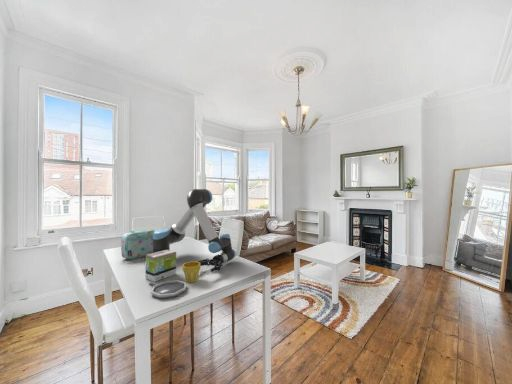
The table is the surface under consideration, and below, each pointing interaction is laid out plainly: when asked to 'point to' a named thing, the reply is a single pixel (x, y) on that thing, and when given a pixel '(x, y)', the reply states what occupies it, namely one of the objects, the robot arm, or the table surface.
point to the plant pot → (191, 271)
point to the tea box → (160, 265)
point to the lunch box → (137, 244)
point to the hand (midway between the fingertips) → (198, 270)
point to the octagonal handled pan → (168, 289)
